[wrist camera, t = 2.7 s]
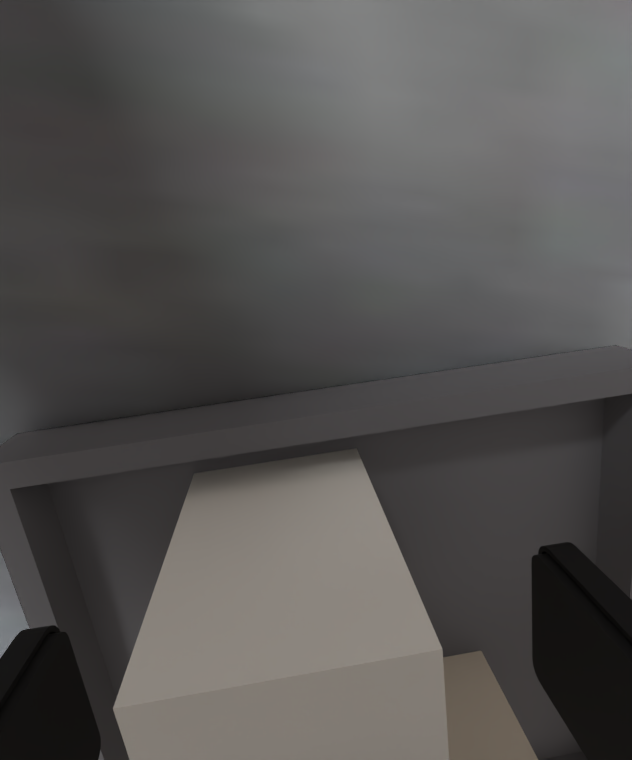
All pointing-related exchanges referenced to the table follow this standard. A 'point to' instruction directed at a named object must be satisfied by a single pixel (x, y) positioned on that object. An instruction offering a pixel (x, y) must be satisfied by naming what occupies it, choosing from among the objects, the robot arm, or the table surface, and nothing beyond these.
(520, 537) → the pan
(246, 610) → the stone
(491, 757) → the stone
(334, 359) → the table surface
